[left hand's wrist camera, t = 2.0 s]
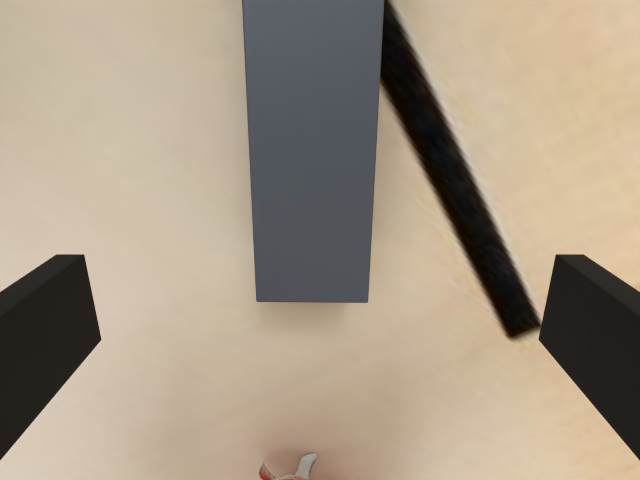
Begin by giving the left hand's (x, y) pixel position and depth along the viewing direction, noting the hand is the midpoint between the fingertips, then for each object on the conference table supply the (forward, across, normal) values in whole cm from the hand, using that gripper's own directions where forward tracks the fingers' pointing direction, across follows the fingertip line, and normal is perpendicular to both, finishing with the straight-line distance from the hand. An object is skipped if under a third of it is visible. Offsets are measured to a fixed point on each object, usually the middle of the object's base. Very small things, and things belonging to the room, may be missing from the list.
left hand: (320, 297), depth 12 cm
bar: (+16, 0, -36) cm, 40 cm away
